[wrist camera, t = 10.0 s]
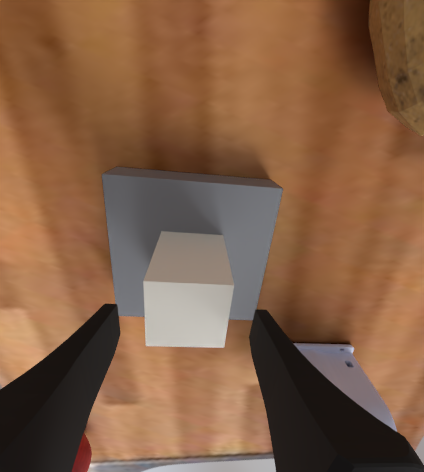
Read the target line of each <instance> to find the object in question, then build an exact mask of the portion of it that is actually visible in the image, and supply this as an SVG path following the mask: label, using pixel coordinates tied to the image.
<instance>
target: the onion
mask: <svg viewBox="0 0 424 472" xmlns="http://www.w3.org/2000/svg"><path fill="white" fill-rule="evenodd" d="M91 455H92V453H91V447H90V444H89V441H88V439H87V437H86V435H85V434H84V433H83V436H82V439H81V443H80V446H79V449H78V452H77V456H76V459H75V462H74V465H73V469H72V472H87V471H88V468H89V465H90V462H91Z"/></svg>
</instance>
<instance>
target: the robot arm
mask: <svg viewBox="0 0 424 472" xmlns="http://www.w3.org/2000/svg"><path fill="white" fill-rule="evenodd" d="M119 337H120V325H119V315H118V306H117V304H104V305H103V306H102V307H101V308H100V309H99V310H98V311H97V312H96V313H95V314H94V315H93V316H92V317H91V318H90V319H89V320H88V321H87V322H85V323H84V324H83V325H82V326H81V327H80V328H79V329H78V330H77V331H76V332H75V333H74V334H73V335H71V336H70V337H69V338H68V339H67V340H66V341H65V342H63V343H62V344H61V345H60V346H59V347H58V348H56V349H55V350H54V351H53V352H52V353H50V354H49V355H48V356H47V357H45V358H44V359H43V360H42V361H40V362H39V363H38V364H36V365H35V366H34V367H32V368H31V369H30V370H28V371H27V372H26V373H24V374H23V375H21V376H20V377H18V378H17V379H15V380H14V381H12V382H11V383H9V384H8V385H6V386H5V387H3V388H2V389H0V472H72V469H73V465H74V462H75V459H76V456H77V452H78V449H79V446H80V443H81V439H82V436H83V433H84V430H85V427H86V424H87V421H88V418H89V415H90V412H91V409H92V407H93V404H94V401H95V399H96V397H97V394H98V392H99V389H100V387H101V385H102V382H103V380H104V378H105V375H106V373H107V371H108V368H109V366H110V363H111V361H112V358H113V356H114V354H115V350H116V347H117V344H118V340H119ZM249 339H250V346H251V353H252V358H253V362H254V366H255V370H256V374H257V377H258V381H259V385H260V388H261V392H262V396H263V400H264V404H265V408H266V412H267V418H268V424H269V429H270V435H271V441H272V447H273V453H274V459H275V466H276V472H424V465H423V463H422V462H421V460H420V459H419V457H418V456H417V454H416V452H415V451H414V449H413V448H412V447H411V445H410V444H409V442H408V441H407V440H406V438H405V437H404V436H402V435H401V434H399V433H398V432H397V430H396V426H395V423H394V420H393V418H392V415H391V413H390V411H389V409H388V407H387V405H386V404H385V402H384V401H383V399H382V398H381V396H380V395H379V393H378V392H377V390H376V389H375V387H374V386H373V384H372V383H371V381H370V380H369V378H368V377H367V375H366V374H365V372H364V371H363V369H362V368H361V366H360V365H359V363H358V362H357V360H356V359H355V357H354V356H353V355H352V352H353V350H354V348H353V346H352V345H347V344H306V343H292V341H291V340H290V339H289V338H288V337H287V335H286V334H285V333H284V332H283V330H282V329H281V328H280V327H279V325H278V324H277V323H276V322H275V320H274V319H273V318H272V316H271V315H270V314H269V312H268V311H267V310H256V309H255V313H254V318H253V322H252V327H251V331H250V336H249Z"/></svg>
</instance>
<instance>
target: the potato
mask: <svg viewBox="0 0 424 472" xmlns="http://www.w3.org/2000/svg"><path fill="white" fill-rule="evenodd" d="M368 25H369V31H370V36H371V42H372V47H373V52H374V58H375V65H376V72H377V79H378V86H379V89H380V91H381V94H382V97H383V100H384V103H385V105H386V108H387V111H388V112H389V113H391V114H392V115H393V116H394V117H395V118H396V119H398V120H399V121H400V122H401V123H402V124H403V125H404V126H406V127H407V128H409V129H410V130H412V131H413V132H415V133H416V134H418V135H420V136H424V0H370V8H369V23H368Z"/></svg>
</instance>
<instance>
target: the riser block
mask: <svg viewBox="0 0 424 472" xmlns="http://www.w3.org/2000/svg"><path fill="white" fill-rule="evenodd" d="M102 182H103V191H104V200H105V210H106V219H107V228H108V237H109V247H110V256H111V265H112V274H113V284H114V293H115V302H116V304H117V306H118V315H119V316H137V317H145V312H144V287H143V281H144V278H145V275H146V272H147V270H148V267H149V264H150V261H151V259H152V256H153V253H154V250H155V248H156V245H157V242H158V240H159V237H160V234H161V231H166V232H181V233H197V234H213V235H223V237H224V241H225V246H226V250H227V255H228V259H229V264H230V269H231V273H232V278H233V282H234V290H233V296H232V302H231V308H230V314H229V319H230V320H253V318H254V313H255V309H256V308H257V304H258V299H259V295H260V290H261V286H262V281H263V277H264V272H265V268H266V263H267V259H268V254H269V250H270V245H271V241H272V236H273V232H274V227H275V223H276V218H277V214H278V209H279V205H280V200H281V196H282V191H283V188H282V187H280V186H279V185H277V184H276V183H275V182H273V181H272V180H269V179H257V178H245V177H233V176H221V175H209V174H197V173H185V172H173V171H161V170H149V169H138V168H126V167H115V168H113V169H111V170H109V171H107V172H105V173H103V174H102Z"/></svg>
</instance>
